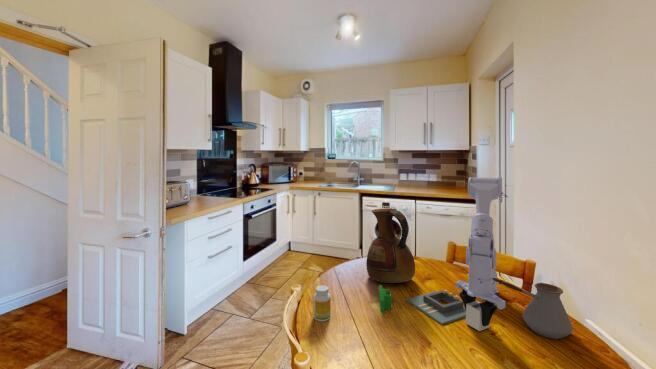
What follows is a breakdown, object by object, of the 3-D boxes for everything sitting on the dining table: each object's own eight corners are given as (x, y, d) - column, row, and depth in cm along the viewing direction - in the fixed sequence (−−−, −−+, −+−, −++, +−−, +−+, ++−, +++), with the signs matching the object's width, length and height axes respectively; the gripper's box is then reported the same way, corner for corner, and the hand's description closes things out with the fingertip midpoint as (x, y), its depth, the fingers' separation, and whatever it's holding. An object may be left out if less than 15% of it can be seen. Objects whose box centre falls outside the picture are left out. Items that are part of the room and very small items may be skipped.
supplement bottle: (311, 315, 89) (310, 286, 88) (326, 311, 91) (326, 282, 90) (317, 323, 84) (317, 293, 83) (333, 319, 86) (333, 289, 85)
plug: (475, 319, 85) (476, 300, 85) (489, 327, 81) (490, 307, 81) (465, 323, 83) (466, 303, 83) (479, 331, 79) (480, 310, 79)
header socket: (435, 292, 103) (435, 283, 103) (473, 314, 89) (474, 303, 89) (406, 300, 98) (406, 290, 97) (441, 324, 83) (442, 313, 83)
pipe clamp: (392, 314, 89) (392, 301, 89) (380, 314, 90) (381, 300, 89) (389, 297, 100) (389, 285, 100) (378, 296, 101) (378, 284, 100)
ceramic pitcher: (382, 266, 130) (383, 203, 127) (423, 279, 116) (425, 208, 113) (356, 279, 115) (356, 208, 113) (399, 295, 102) (401, 214, 99)
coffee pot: (554, 320, 85) (557, 273, 84) (583, 345, 74) (587, 291, 73) (480, 315, 88) (482, 270, 87) (497, 338, 77) (500, 286, 75)
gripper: (449, 269, 86) (448, 311, 87) (494, 289, 73) (492, 338, 74) (465, 266, 89) (463, 306, 90) (511, 284, 76) (508, 331, 77)
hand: (477, 320), depth 82 cm, fingers closed on plug, 4 cm apart
